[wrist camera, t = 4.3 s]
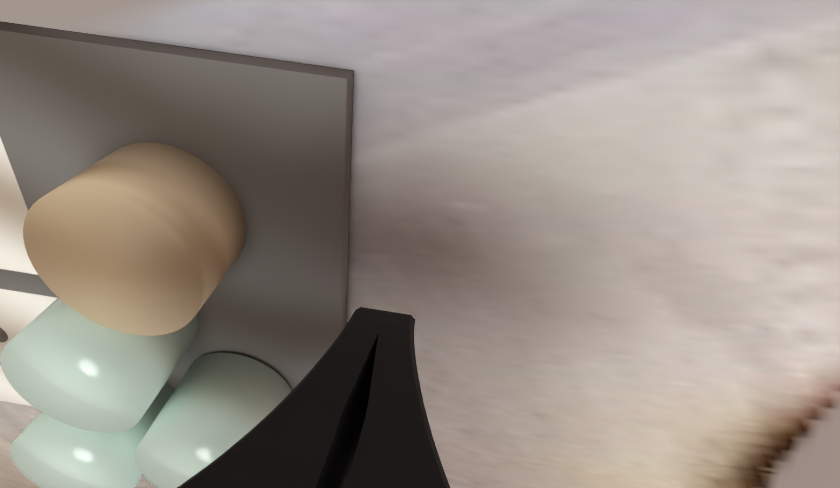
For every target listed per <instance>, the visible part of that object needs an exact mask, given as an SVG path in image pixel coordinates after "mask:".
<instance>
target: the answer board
mask: <svg viewBox="0 0 840 488" xmlns="http://www.w3.org/2000/svg"><path fill="white" fill-rule="evenodd" d="M353 79H354V71H351V70H344V69H337V68H330V67H323V66H316V65H308V64H301V63H294V62H287V61H280V60H273V59H265V58H258V57H251V56H244V55H237V54H230V53H222V52H215V51H208V50H201V49H194V48H187V47H179V46H172V45H165V44H158V43H151V42H144V41H136V40H129V39H122V38H115V37H108V36H101V35H93V34H86V33H79V32H72V31H65V30H58V29H51V28H43V27H36V26H29V25H21V24H15V23H8V22H0V357H1V352H2V350H3V348H4V346H5V345H6V344H7V343H8V342H9V341H10V340H11V339H13V338H14V337H15V336H16V335H17V334H18V333H19V332H20V331H22V330H23V329H24V328H25V327H26V326H27V325H28V324H29V323H30V322H32V321H33V320H34V319H35V318H36V317H37V316H38V315H39V314H41V313H42V312H43V311H44V310H45V309H46V308H47V307H48V306H50V305H51V304H52V303H53V302H54V301H55V300H56V299H57V298H58V297H57V296H56V295H55V294H54V293H53V292H52V291H51V290H50V289H49V287H48V286H47V285H46V284H45V283H44V282H43V280H42V279H41V278H40V276H39V275H38V274H37V272H36V270H35V269H34V267H33V265H32V263H31V261H30V259H29V257H28V255H27V252H26V249H25V245H24V239H23V226H24V220H25V217H26V215H27V212H28V211H29V209H30V208H31V206H32V205H33V204H34V203H35V202H36V201H37V200H39V199H40V198H41V197H43V196H45V195H46V194H48V193H49V192H51V191H52V190H54V189H56V188H57V187H59V186H60V185H62V184H64V183H65V182H67V181H68V180H70V179H71V178H73V177H75V176H76V175H78V174H79V173H81V172H82V171H84V170H86V169H87V168H89V167H90V166H92V165H93V164H95V163H97V162H98V161H100V160H101V159H103V158H104V157H106V156H108V155H109V154H111V153H112V152H114V151H116V150H117V149H119V148H121V147H123V146H126V145H129V144H134V143H140V142H153V143H161V144H166V145H170V146H173V147H176V148H179V149H181V150H184V151H186V152H188V153H190V154H192V155H194V156H196V157H197V158H199V159H201V160H202V161H203V162H205V163H206V164H208V165H209V166H210V167H211V168H213V169H214V170H215V171H216V172H217V173H218V174H219V175H220V176H221V177H222V178H223V179H224V180H225V181H226V182H227V184H228V185H229V186H230V188H231V189H232V190H233V192H234V193H235V195H236V197H237V198H238V200H239V203H240V205H241V207H242V210H243V213H244V216H245V221H246V241H245V244H244V247H243V250H242V252H241V253H240V255H239V257H238V258H237V259H236V261H235V262H234V263H233V265H232V266H231V267H230V269H229V270H228V272H227V273H226V274H225V276H224V277H223V278H222V280H221V281H220V283H219V284H218V285H217V287H216V288H215V289H214V291H213V292H212V293H211V295H210V296H209V298H208V299H207V300H206V302H205V303H204V304H203V306H202V307H201V308H200V310H199V311H198V313H197V318H198V323H199V331H198V335H197V337H196V339H195V341H194V343H193V344H192V345H191V347H190V348H189V350H188V351H187V353H186V354H185V356H184V357H183V358H182V360H181V361H180V363H179V364H178V366H177V367H176V369H175V370H174V372H173V373H172V374H171V376H170V377H169V379H168V380H167V383H168V384H169V385H170V386H171V387H172V388H173V389H174V390H175V388H176V387H177V385H178V384H179V382H180V381H181V379H182V377H183V376H184V374H185V373H186V371H187V370H188V368H189V367H190V365H191V364H192V363H193V362H194V361H195V360H196V359H198V358H200V357H201V356H204V355H207V354H212V353H231V354H237V355H242V356H245V357H249V358H251V359H254V360H256V361H259V362H261V363H263V364H264V365H266V366H268V367H270V368H271V369H272V370H274V371H275V372H276V373H278V374H279V375H280V376H281V377H282V378H283V379H284V380H285V381H286V383H287V384H288V385H289V387H290V389H291V391H292V390H293V389H294V388H295V387H296V386H297V385H298V384H299V383H300V382H301V380H302V379H303V378H304V377H305V376H306V375H307V374H308V373H309V372H310V371H311V369H312V368H313V367H314V366H315V365H316V363H317V362H318V361H319V360H320V359H321V357H322V356H323V355H324V354H325V353H326V351H327V350H328V349H329V348H330V346H331V345H332V344H333V343H334V341H335V340H336V339H337V337H338V336H339V335H340V333H341V332H342V330H343V329H344V328H345V326H346V305H347V273H348V240H349V208H350V176H351V143H352V111H353ZM0 401H6V402H12V403H18V404H24V405H30V406H32V405H31V404H29V403H28V402H27V401H26V400H25V399H23V398H22V397H21V396H20V395H19V394H18V393H17V392H16V391H15V389H14V388H13V387H12V386H11V384H10V383H9V382H8V380H7V378H6V377H5V375H4V372H3V370H2V367H1V359H0Z"/></svg>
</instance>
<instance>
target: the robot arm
mask: <svg viewBox="0 0 840 488" xmlns="http://www.w3.org/2000/svg"><path fill="white" fill-rule="evenodd" d="M414 325H415V319H414V318H413V317H412V316H411V315H407V314H401V313H394V312H388V311H382V310H375V309H369V308H362V307H360V308H358V309H357V310H355V312H354V314H353V315H352V317H351V319H350V320H349V322H348V323H347V325H346V326H345V328H344V329H343V330H342V332H341V333H340V335H339V336H338V337H337V339H336V340H335V341H334V343H333V344H332V345H331V346H330V348H329V349H328V350H327V351H326V353H325V354H324V355H323V356H322V357H321V359H320V360H319V361H318V362H317V363H316V365H315V366H314V367H313V368H312V369H311V371H310V372H309V373H308V374H307V375H306V376H305V377H304V378H303V379H302V380H301V382H300V383H299V384H298V385H297V386H296V387H295V388H294V389H293V390H292V391H291V392H290V393H289V394H288V395H287V397H286V398H285V399H284V400H283V401H282V402H281V403H280V404H279V405H277V406H276V407H275V408H274V409H273V410H272V411H271V412H270V413H269V414H268V415H267V416H266V417H265V418H264V419H263V420H262V421H261V422H259V423H258V424H257V425H256V426H255V427H254V428H253V429H252V430H251V431H249V432H248V433H247V434H246V435H245V436H244V437H242V438H241V439H240V440H239V441H238V442H236V443H235V444H234V445H233V446H232V447H230V448H229V449H228V450H227V451H226V452H224V453H223V454H222V455H221V456H219V457H218V458H217V459H216V460H214V461H213V462H212V463H210V464H209V465H208V466H206V467H205V468H204V469H202V470H201V471H199V472H198V473H197V474H195V475H194V476H193V477H191V478H190V479H188V480H187V481H186V482H184V483H183V484H182V485H180V486H179V487H177V488H450V486H449V483H448V481H447V478H446V475H445V472H444V470H443V467H442V464H441V461H440V458H439V455H438V452H437V449H436V446H435V443H434V440H433V437H432V433H431V430H430V426H429V423H428V419H427V415H426V411H425V407H424V403H423V398H422V394H421V389H420V383H419V378H418V372H417V366H416V358H415V349H414Z"/></svg>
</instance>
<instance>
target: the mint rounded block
mask: <svg viewBox="0 0 840 488" xmlns="http://www.w3.org/2000/svg"><path fill="white" fill-rule="evenodd" d="M173 391H174V389H173V388H172V387H171V386H170V385H169V384H168V383H167V382H166V383H165V385H164V386H163V388H162V389H161V390H160V392H159V393H158V395H157V396H156V398H155V399H154V401H153V402H152V403H151V405H150V406H149V408H148V409H147V411H146V412H145V414H144V415H143V417H142V418H141V419H140V421H139V422H138V423H137V424H136V425H135V426H133V427H132V428H130V429H128V430H124V431H121V432H114V433H100V432H92V431H87V430H83V429H79V428H75V427H72V426H70V425H67V424H64V423H62V422H60V421H57V420H55V419H53V418H51V417H49V416H48V415H46V414H44V413H42V412H40V413H39V414H38V415H37V416H36V417H35V418H34V420H33V421H32V422H31V423H30V424H29V425H28V426H27V427H26V428H25V430H24V431H23V432H22V433H21V434H20V435H19V436H18V437H17V439H16V440H15V441H14V442H13V443H12V445H11V448H10V455H11V458H12V460H13V463H14V464H15V466H16V467H17V468H18V469H19V471H20V472H21V473H22V474H23V475H24V476H25V477H27V478H28V479H29V480H30V481H32V482H33V483H35V484H36V485H37V486H39V487H41V488H135V487H136V485H137V483H138V482H139V480H140V479H141V477H142V475H143V474H142V473H141V472H140V470H139V469H138V467H137V465H136V462H135V458H134V455H135V451H136V448H137V447H138V445H139V444H140V442H141V441H142V439H143V437H144V436H145V434H146V433H147V431H148V430H149V428H150V427H151V425H152V424H153V422H154V421H155V419H156V417H157V416H158V414H159V413H160V411H161V410H162V408H163V407H164V405H165V404H166V402H167V401H168V399H169V397H170V396H171V394H172V393H173Z"/></svg>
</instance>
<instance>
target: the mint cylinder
mask: <svg viewBox="0 0 840 488" xmlns="http://www.w3.org/2000/svg"><path fill="white" fill-rule="evenodd" d="M198 331H199V323H198V318H197V314H196V315H195V317H194V318H193V319H192V320H191V321H190V322H189V323H188V324H187V325H186V326H184V327H183V328H181V329H179V330H177V331H174V332H172V333H168V334H164V335H156V336H142V335H133V334H128V333H123V332H120V331H116V330H113V329H110V328H108V327H105V326H102V325H100V324H98V323H96V322H94V321H92V320H90V319H88V318H86V317H85V316H83V315H81V314H80V313H78V312H77V311H75V310H74V309H72V308H71V307H69V306H68V305H67V304H66V303H64V302H63V301H62V300H61V299H60V298H59V297H58V298H57V299H56V300H55V301H54V302H53V303H52V304H51V305H50V306H48V307H47V308H46V309H45V310H44V311H43V312H42V313H41V314H39V315H38V316H37V317H36V318H35V319H34V320H33V321H32V322H30V323H29V324H28V325H27V326H26V327H25V328H24V329H23V330H22V331H20V332H19V333H18V334H17V335H16V336H15V337H14V338H13V339H11V340H10V341H9V342H8V343H7V344H6V345H5V346H4V348H3V350H2V352H1V357H0V359H1V367H2V370H3V372H4V375H5V377H6V378H7V380H8V382H9V383H10V384H11V386H12V387H13V388H14V389H15V391H16V392H17V393H18V394H19V395H20V396H21V397H22V398H23V399H25V400H26V401H27V402H28V403H29V404H31V405H32V406H33V407H35V408H36V409H38V410H39V411H41V412H42V413H44V414H46V415H48V416H49V417H51V418H53V419H55V420H57V421H60V422H62V423H64V424H67V425H70V426H72V427H75V428H79V429H83V430H87V431H92V432H100V433H114V432H121V431H124V430H128V429H130V428H132V427H133V426H135V425H136V424H137V423H138V422H139V421H140V419H141V418H142V417H143V415H144V414H145V412H146V411H147V409H148V408H149V406H150V405H151V403H152V402H153V401H154V399H155V398H156V396H157V395H158V393H159V392H160V390H161V389H162V388H163V386H164V385H165V383H166V382H167V380H168V379H169V377H170V376H171V374H172V373H173V372H174V370H175V369H176V367H177V366H178V364H179V363H180V361H181V360H182V358H183V357H184V356H185V354H186V353H187V351H188V350H189V348H190V347H191V345H192V344H193V343H194V341H195V339H196V337H197V335H198Z"/></svg>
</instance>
